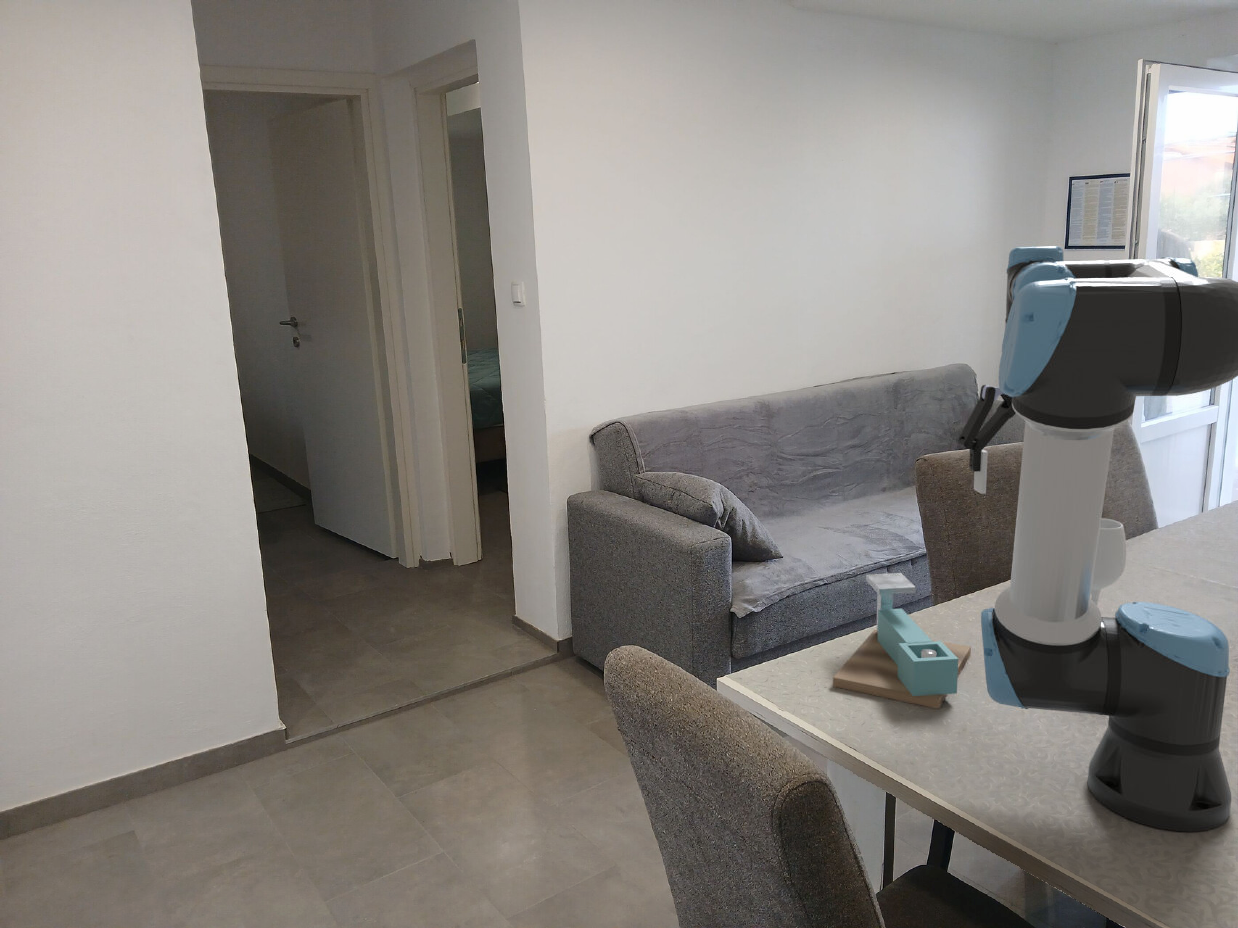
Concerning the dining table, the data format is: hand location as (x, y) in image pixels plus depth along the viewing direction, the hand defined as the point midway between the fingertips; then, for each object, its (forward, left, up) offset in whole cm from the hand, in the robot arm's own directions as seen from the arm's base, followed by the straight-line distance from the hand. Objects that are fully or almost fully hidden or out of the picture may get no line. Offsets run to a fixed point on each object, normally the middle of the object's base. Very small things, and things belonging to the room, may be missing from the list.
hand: (1022, 489), depth 148 cm
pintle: (-18, +9, -29) cm, 35 cm away
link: (-12, +13, -27) cm, 33 cm away
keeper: (-4, +19, -29) cm, 35 cm away
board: (-11, +15, -29) cm, 34 cm away
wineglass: (+13, -10, -29) cm, 33 cm away
